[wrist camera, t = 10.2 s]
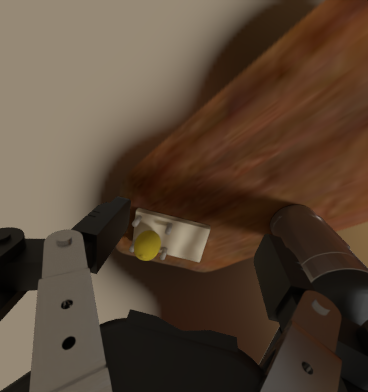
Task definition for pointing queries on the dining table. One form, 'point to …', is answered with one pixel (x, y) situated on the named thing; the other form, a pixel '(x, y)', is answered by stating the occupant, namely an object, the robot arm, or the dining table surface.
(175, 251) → the peg board
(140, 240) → the lemon
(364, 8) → the dining table surface
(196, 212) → the dining table surface
